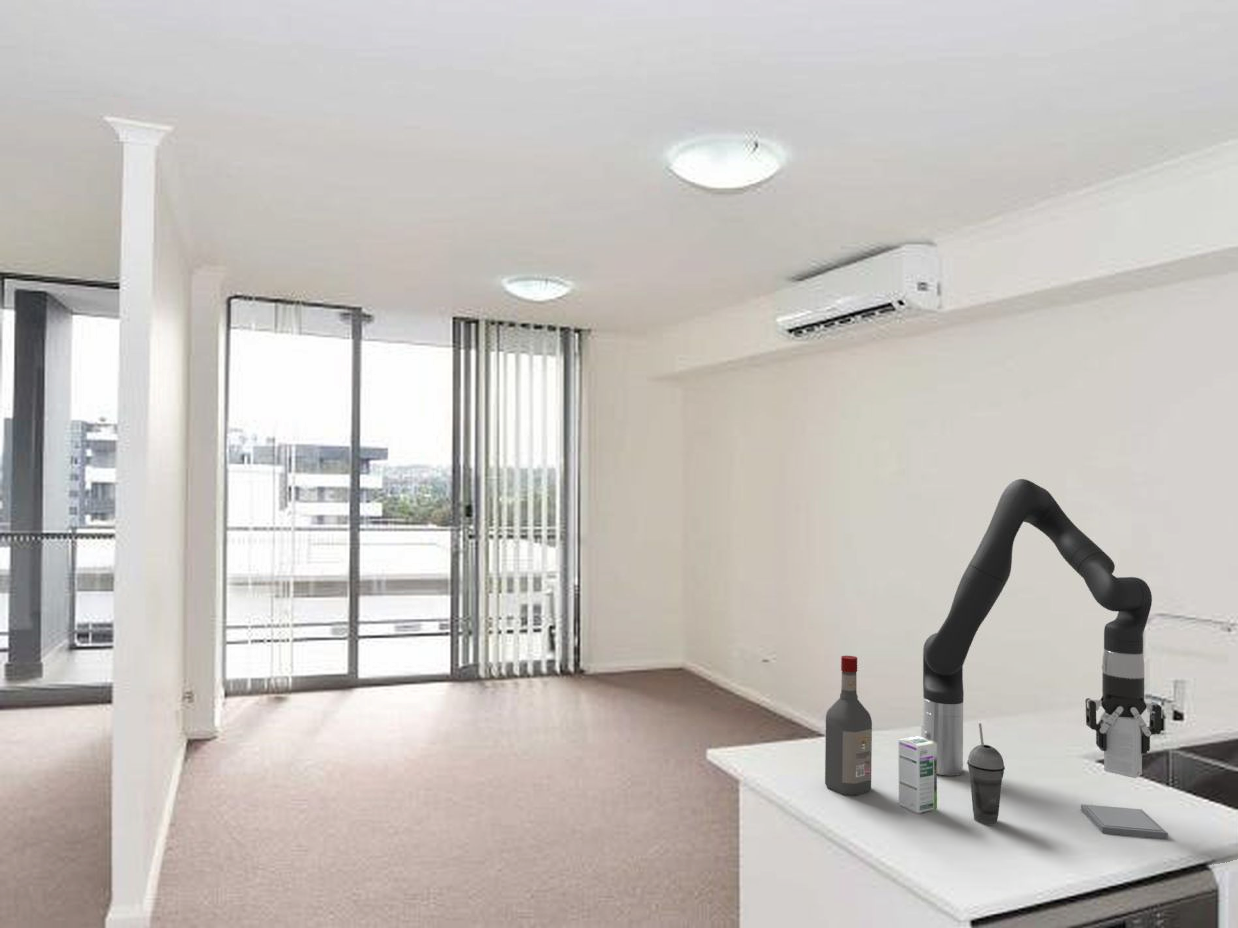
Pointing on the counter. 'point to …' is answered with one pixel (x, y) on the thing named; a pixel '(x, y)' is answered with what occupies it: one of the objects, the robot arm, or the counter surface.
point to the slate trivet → (1123, 821)
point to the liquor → (848, 738)
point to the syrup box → (918, 774)
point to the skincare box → (1124, 747)
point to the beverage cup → (985, 781)
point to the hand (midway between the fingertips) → (1122, 751)
